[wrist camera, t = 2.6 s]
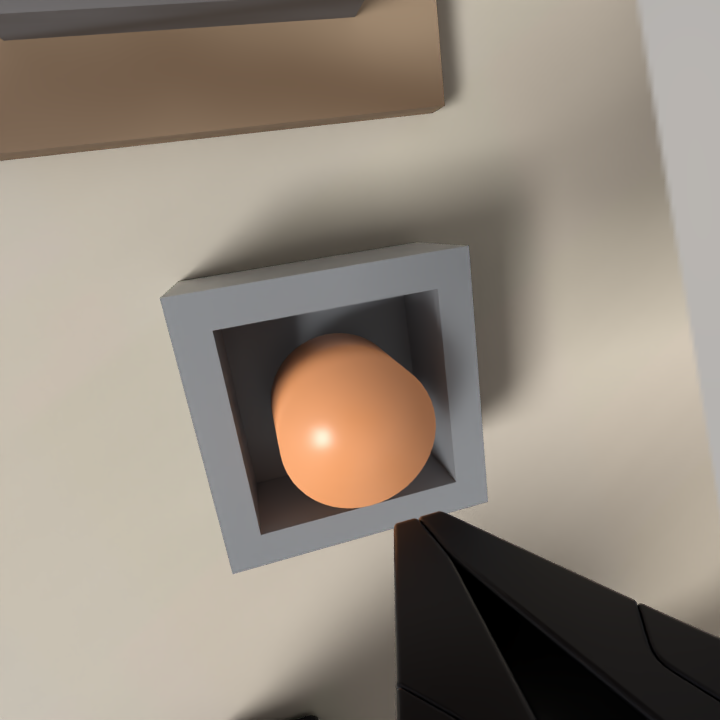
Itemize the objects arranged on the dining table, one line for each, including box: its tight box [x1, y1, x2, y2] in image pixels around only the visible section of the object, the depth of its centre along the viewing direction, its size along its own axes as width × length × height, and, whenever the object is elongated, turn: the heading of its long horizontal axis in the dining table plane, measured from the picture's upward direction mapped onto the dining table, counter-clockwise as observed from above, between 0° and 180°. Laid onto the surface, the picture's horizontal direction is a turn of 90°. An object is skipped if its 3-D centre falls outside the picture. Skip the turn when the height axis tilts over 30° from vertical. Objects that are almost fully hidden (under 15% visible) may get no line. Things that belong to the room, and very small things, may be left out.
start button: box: [271, 333, 436, 508], centre depth 13 cm, size 4×4×3 cm
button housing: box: [160, 242, 488, 574], centre depth 15 cm, size 8×8×4 cm
